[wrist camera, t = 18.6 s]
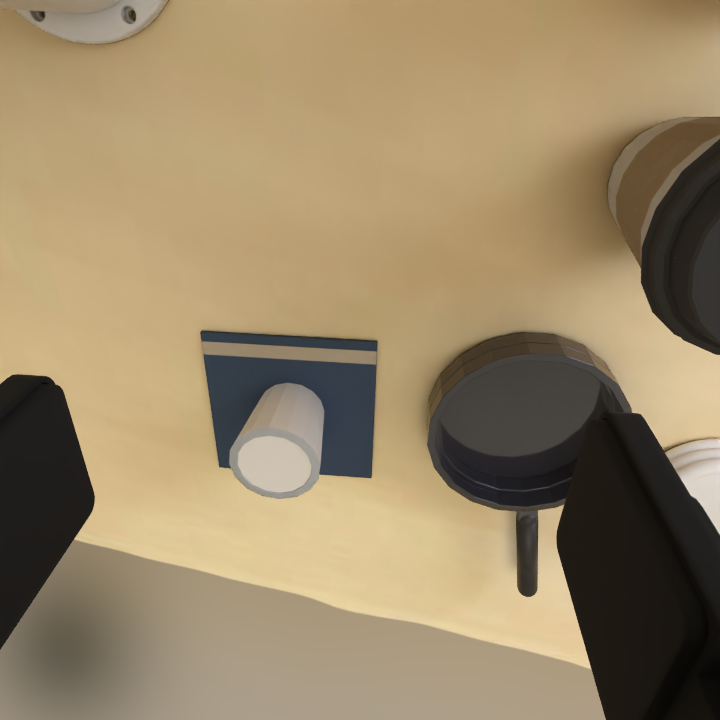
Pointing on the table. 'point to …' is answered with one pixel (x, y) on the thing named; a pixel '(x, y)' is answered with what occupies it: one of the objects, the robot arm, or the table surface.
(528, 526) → the pan handle
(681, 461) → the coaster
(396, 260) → the table surface
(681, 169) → the coffee cup
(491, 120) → the table surface
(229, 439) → the cloth
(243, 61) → the table surface
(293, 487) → the white cup
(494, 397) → the pan
